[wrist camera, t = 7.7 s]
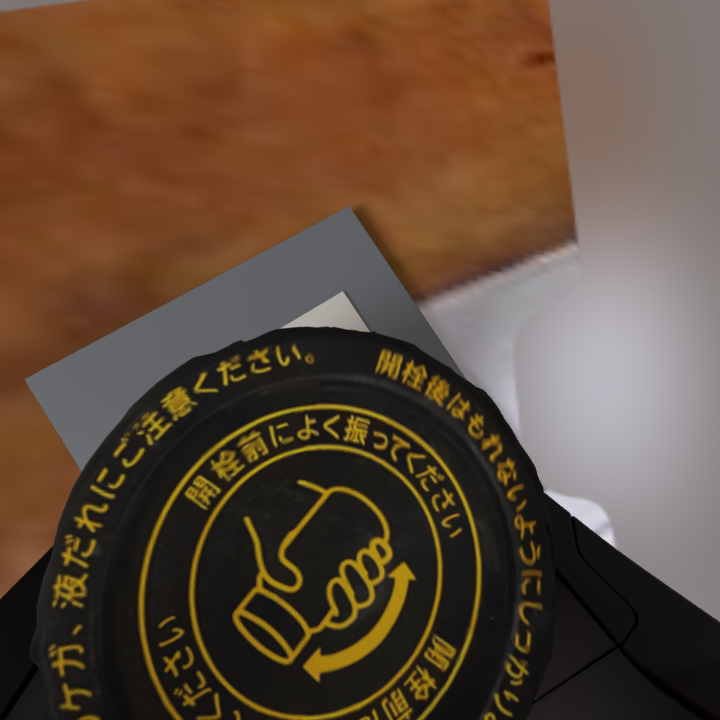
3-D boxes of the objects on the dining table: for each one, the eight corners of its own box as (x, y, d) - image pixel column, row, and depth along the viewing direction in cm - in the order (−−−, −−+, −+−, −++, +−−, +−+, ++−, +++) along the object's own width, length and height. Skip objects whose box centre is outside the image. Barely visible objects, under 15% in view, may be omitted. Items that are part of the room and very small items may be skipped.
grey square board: (538, 497, 22) (551, 502, 21) (262, 738, 18) (258, 761, 17) (347, 214, 23) (349, 204, 22) (39, 381, 18) (21, 379, 17)
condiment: (239, 367, 15) (5, 192, 3) (425, 382, 16) (739, 296, 5) (216, 547, 14) (-290, 1296, 2) (420, 549, 15) (834, 1030, 3)
